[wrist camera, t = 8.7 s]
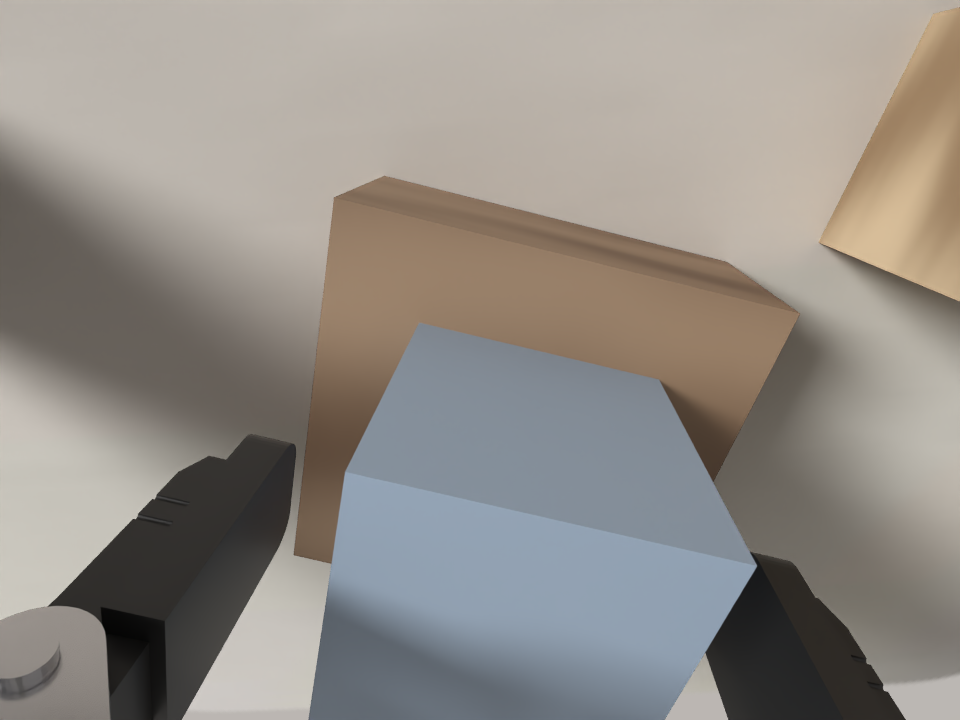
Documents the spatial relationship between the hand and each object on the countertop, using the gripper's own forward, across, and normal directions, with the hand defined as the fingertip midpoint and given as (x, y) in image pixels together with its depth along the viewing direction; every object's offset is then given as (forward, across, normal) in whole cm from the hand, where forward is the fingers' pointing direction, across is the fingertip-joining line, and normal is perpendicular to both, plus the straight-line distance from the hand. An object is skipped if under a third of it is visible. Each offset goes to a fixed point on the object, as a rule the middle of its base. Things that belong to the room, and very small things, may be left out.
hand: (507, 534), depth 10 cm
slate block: (+3, 0, 0) cm, 3 cm away
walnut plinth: (+7, 0, 0) cm, 7 cm away
